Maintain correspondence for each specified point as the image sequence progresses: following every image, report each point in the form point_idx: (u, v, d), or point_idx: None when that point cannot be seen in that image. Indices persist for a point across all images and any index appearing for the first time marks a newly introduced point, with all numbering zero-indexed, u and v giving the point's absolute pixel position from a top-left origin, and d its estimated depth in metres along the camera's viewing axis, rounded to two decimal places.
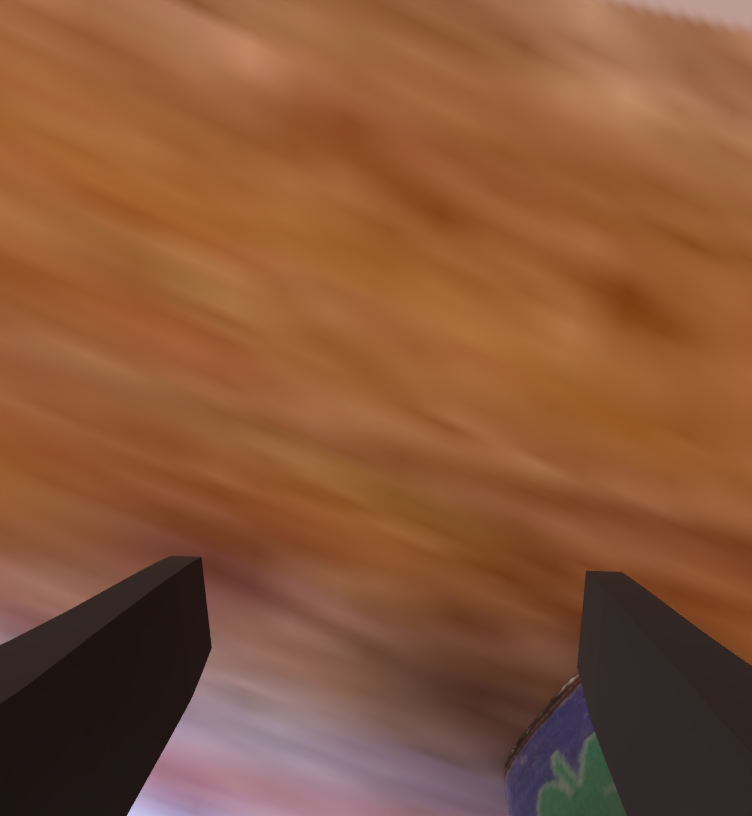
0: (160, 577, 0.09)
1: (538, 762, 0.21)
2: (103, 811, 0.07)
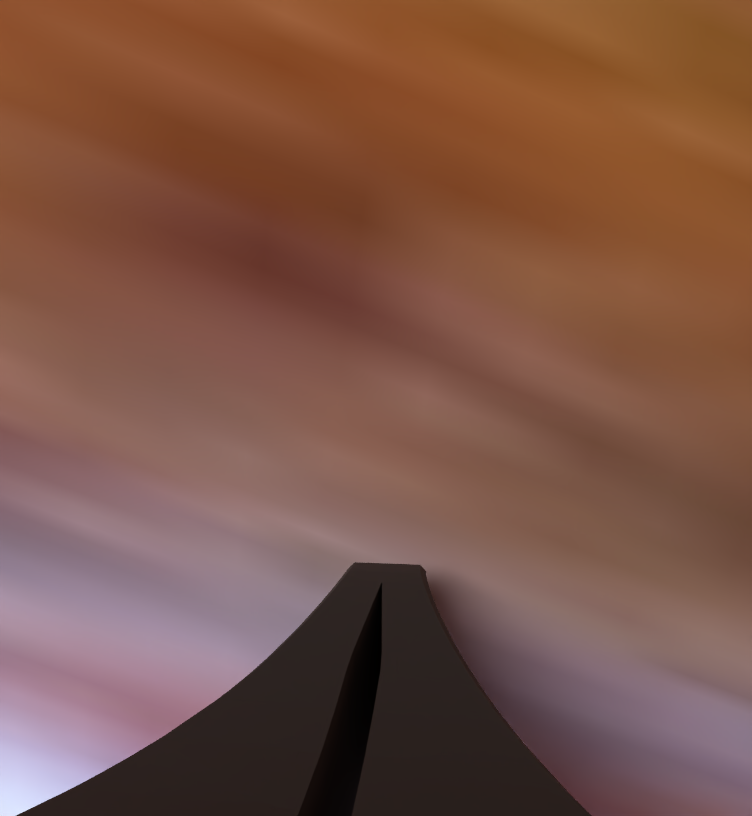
0: (367, 585, 0.09)
1: None
2: None
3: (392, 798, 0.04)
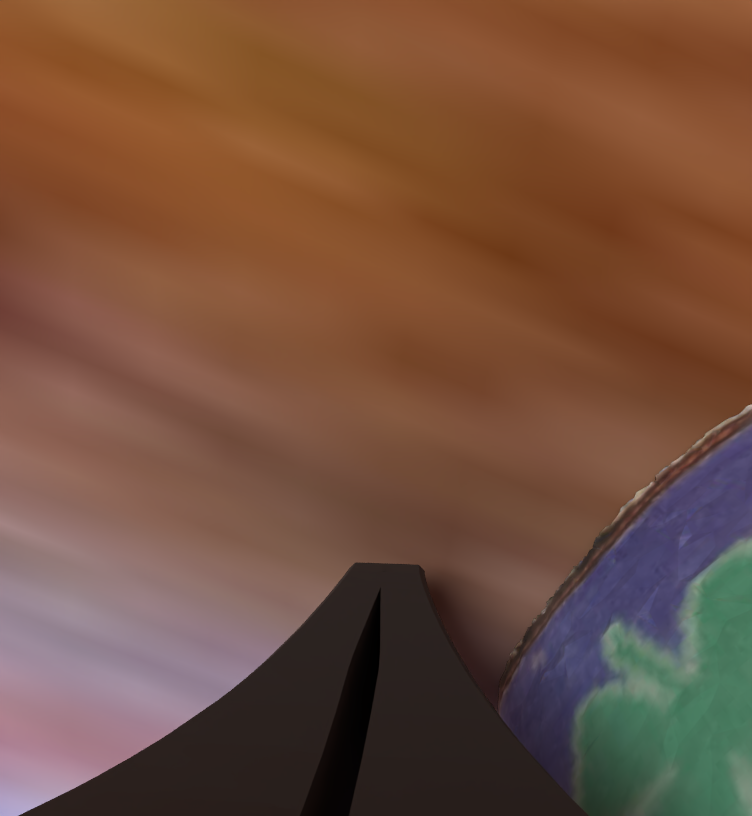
0: (369, 586, 0.09)
1: (573, 655, 0.10)
2: None
3: (389, 798, 0.04)
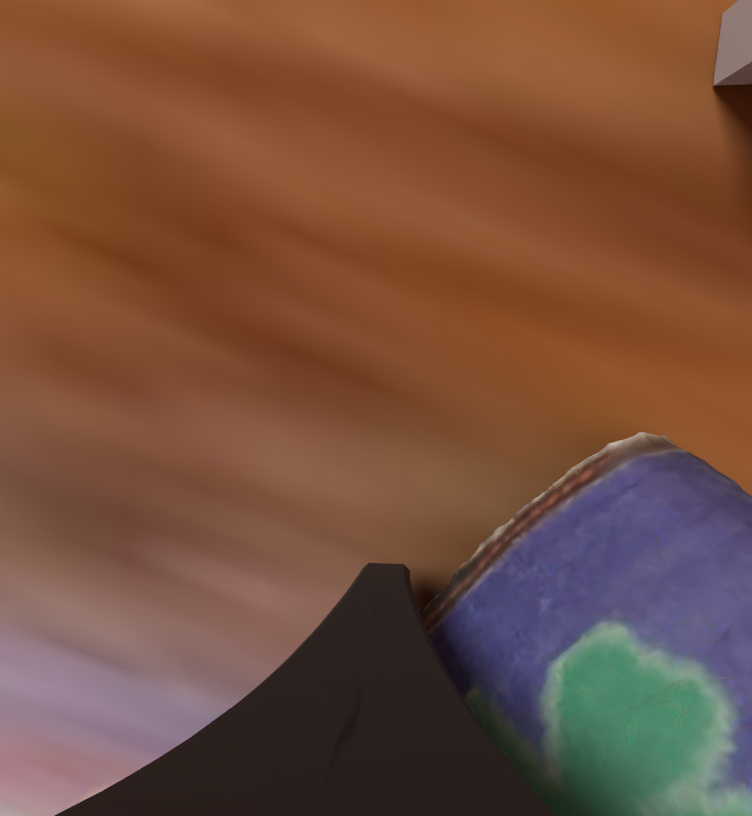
0: (384, 586, 0.09)
1: None
2: None
3: (355, 795, 0.04)
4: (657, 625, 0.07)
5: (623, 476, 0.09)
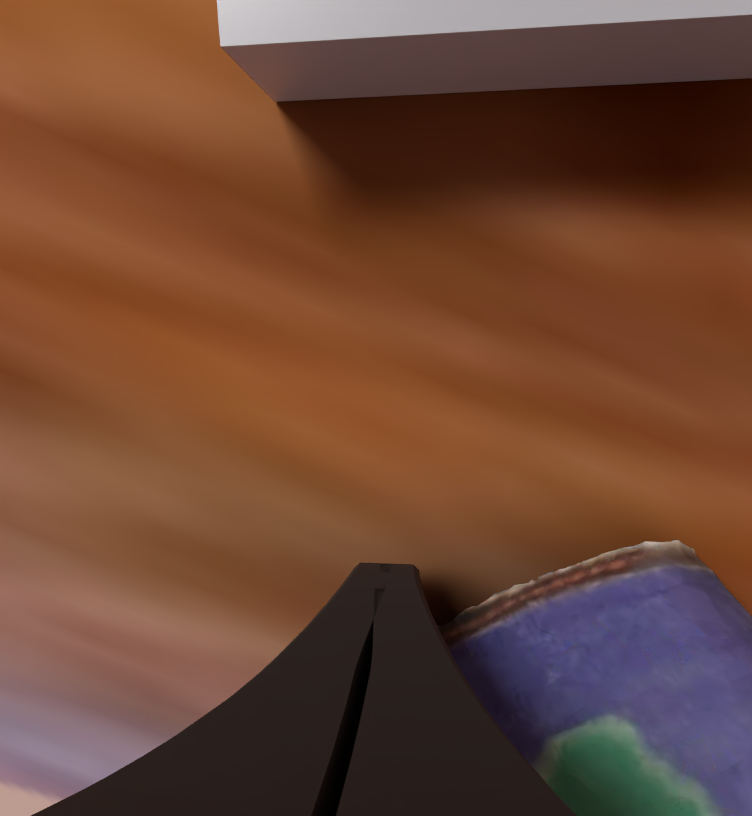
0: (374, 586, 0.09)
1: None
2: None
3: (377, 797, 0.04)
4: (666, 736, 0.08)
5: (655, 578, 0.09)
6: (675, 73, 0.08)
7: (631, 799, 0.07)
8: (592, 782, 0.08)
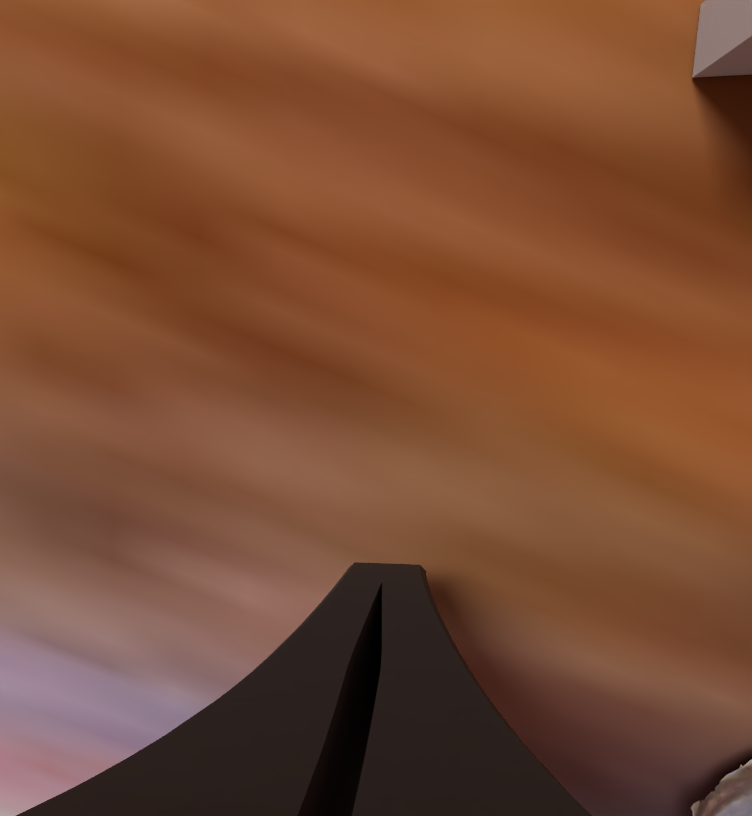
0: (367, 586, 0.09)
1: None
2: None
3: (391, 798, 0.04)
4: None
5: None
6: None
7: None
8: None
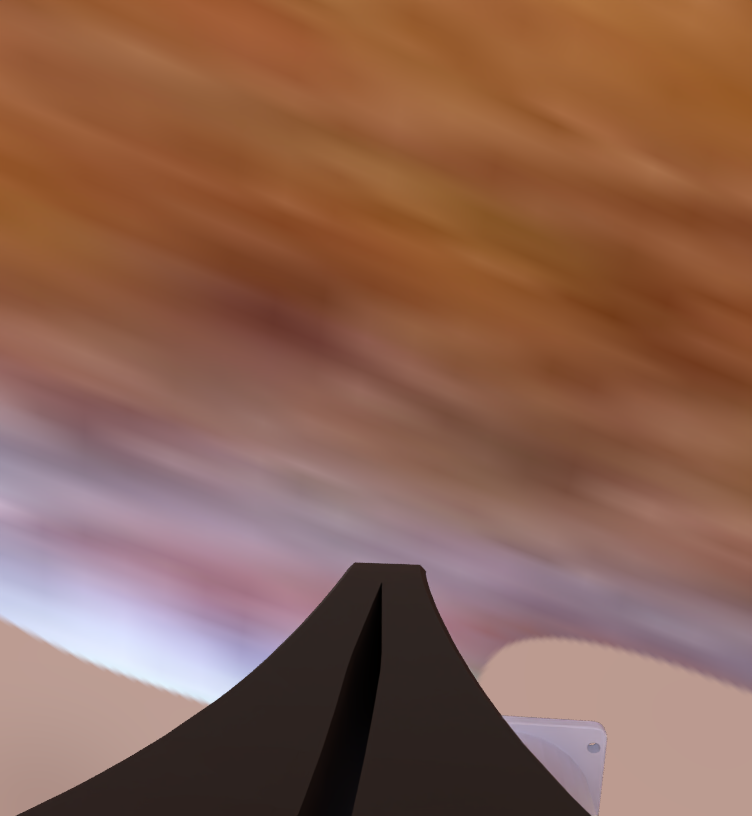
0: (368, 585, 0.09)
1: None
2: None
3: (391, 798, 0.04)
4: None
5: None
6: None
7: None
8: None
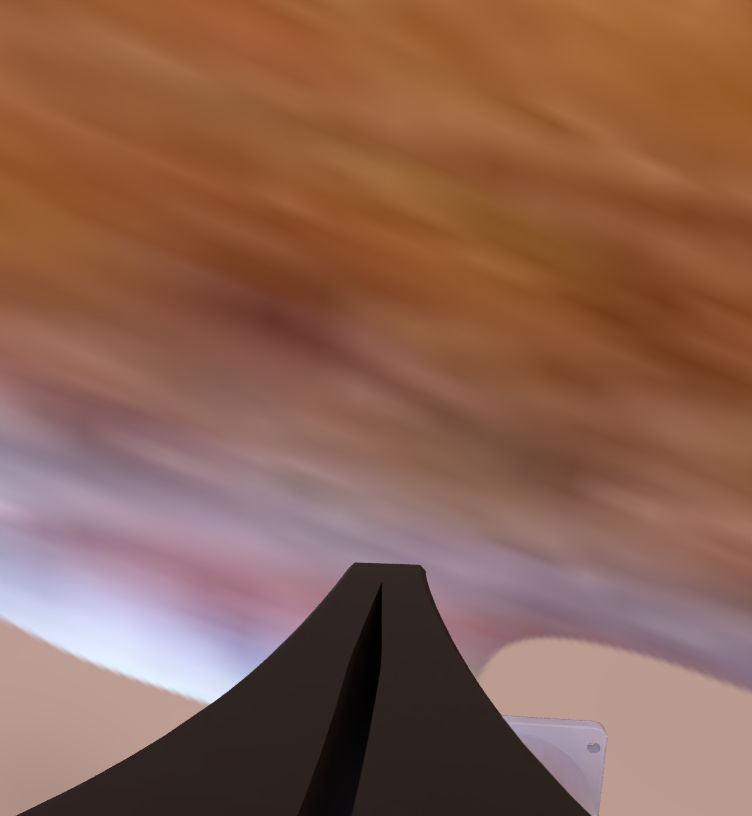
0: (368, 585, 0.09)
1: None
2: None
3: (391, 798, 0.04)
4: None
5: None
6: None
7: None
8: None
